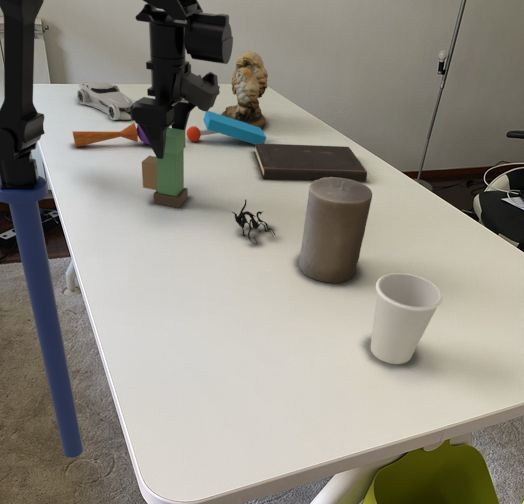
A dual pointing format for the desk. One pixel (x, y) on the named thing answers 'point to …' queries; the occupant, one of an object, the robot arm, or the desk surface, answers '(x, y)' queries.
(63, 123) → the desk surface
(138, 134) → the kendama
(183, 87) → the robot arm
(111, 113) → the car model
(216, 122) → the lever
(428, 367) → the desk surface
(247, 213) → the creature
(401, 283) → the dixie cup
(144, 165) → the green block pillar
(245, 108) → the brown mottled upright lump
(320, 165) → the hardcover book
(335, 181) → the pillar candle
